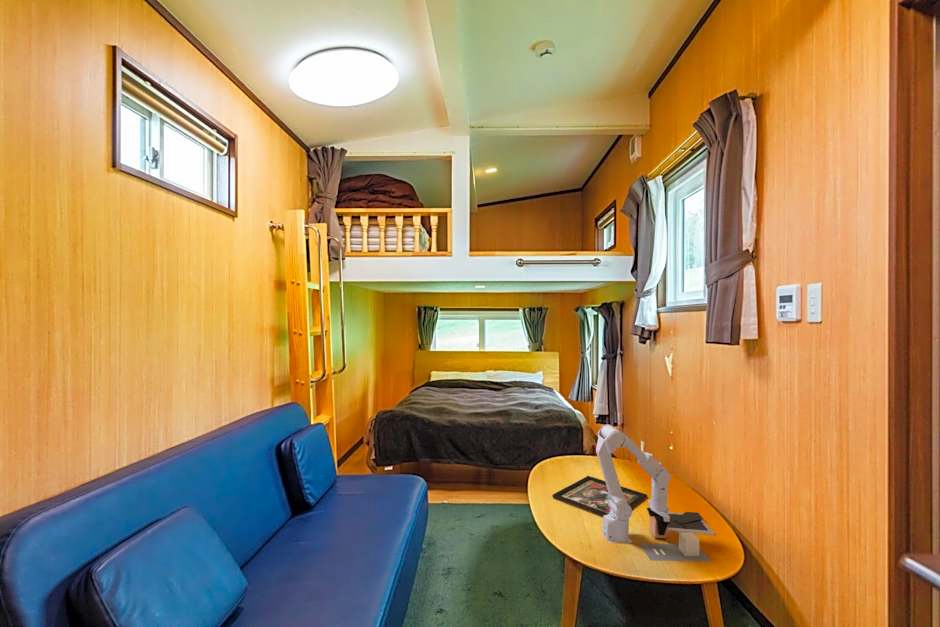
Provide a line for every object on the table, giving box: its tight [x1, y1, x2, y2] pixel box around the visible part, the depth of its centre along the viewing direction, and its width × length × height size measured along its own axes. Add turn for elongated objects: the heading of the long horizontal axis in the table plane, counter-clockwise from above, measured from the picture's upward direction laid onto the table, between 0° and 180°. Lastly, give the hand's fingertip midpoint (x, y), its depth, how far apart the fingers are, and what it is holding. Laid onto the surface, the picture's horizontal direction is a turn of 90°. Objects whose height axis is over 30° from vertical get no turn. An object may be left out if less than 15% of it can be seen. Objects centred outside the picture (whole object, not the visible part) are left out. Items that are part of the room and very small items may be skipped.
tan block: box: [678, 532, 701, 556], centre depth 159 cm, size 5×5×6 cm
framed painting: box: [551, 475, 648, 519], centre depth 204 cm, size 38×35×3 cm
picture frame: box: [668, 511, 715, 536], centre depth 181 cm, size 16×3×21 cm
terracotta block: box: [648, 515, 669, 539], centre depth 170 cm, size 5×5×6 cm
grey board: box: [638, 542, 712, 563], centre depth 159 cm, size 22×11×1 cm, turn 91°
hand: (658, 530), depth 170 cm, fingers closed on terracotta block, 5 cm apart
